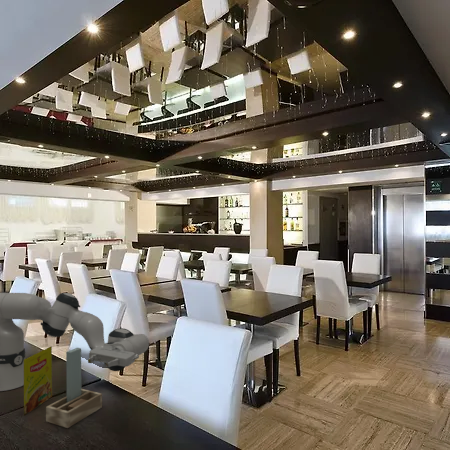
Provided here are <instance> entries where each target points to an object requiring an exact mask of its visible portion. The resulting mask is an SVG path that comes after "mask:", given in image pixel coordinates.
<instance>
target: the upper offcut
mask: <svg viewBox="0 0 450 450" xmlns="http://www.w3.org/2000/svg"><path fill="white" fill-rule="evenodd" d="M85 401H87V400H84V399H80V400H78V401H76V402H74V403H73V404H71V405H69V406H68V411H69V410H71V409H73V408H75V407H76V406H78V405H80V404H82V403H84V402H85Z"/></svg>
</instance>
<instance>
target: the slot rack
mask: <svg viewBox="0 0 450 450" xmlns="http://www.w3.org/2000/svg"><path fill="white" fill-rule="evenodd" d="M80 399H84V400H87V401H85V402H84V403H82V404H80V405H78V406H76V407H75V408H73V409H71V410H69V411H68V406H69V405H71V404H73V403H74V402H76V401H78V400H80ZM101 408H103V393H100V392H96V391H92V390H89V389H84V388H81V396H79V397H77V398H75V399H73V400H71V401H69V402H67V395H66V396H65V397H63V398H60V399H59V400H57V401H55V402H53V403H51V404H49V405H47V406H45V422H46V423H50V424H53V425H57V426H60V427H62V428H67V429H68V428H70V427H72V426H74V425H75V424H77V423H79V422H81V421H82V420H83V419H86V418H88V416H90V415H92V414H94V413H95V412H97V411H98V410H100V409H101Z"/></svg>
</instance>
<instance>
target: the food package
mask: <svg viewBox="0 0 450 450" xmlns="http://www.w3.org/2000/svg"><path fill="white" fill-rule="evenodd" d="M52 349H53V347H52V346H49V347H47V348H44V349H42V350H41V351H39V352H37V353H35V354H31V356H29V357H27V358H26V357H25V359H24V385H23V416H26V415H28V414H29V413H31V412H32V411H34V410H35V409H36V408H38V407H39V406H41V405H42V404H43V403H45V402H46V401H48V400H49V399H51V398H52V397H53V386H52V385H53V379H52V378H53V374H52V373H53V371H52V370H53V365H52V364H53V358H52V356H53V355H52Z"/></svg>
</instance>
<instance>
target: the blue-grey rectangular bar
mask: <svg viewBox="0 0 450 450" xmlns="http://www.w3.org/2000/svg"><path fill="white" fill-rule="evenodd" d="M65 355H66V357H65V359H66V362H65V363H66V364H65V365H66V372H65V373H66V396H67V402H69V401H71V400H73V399H75V398H77V397H79V396H81V389H82V348H81V347H76V348H74V349H73V348H72V349H70V350H67V351H66V354H65Z"/></svg>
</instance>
